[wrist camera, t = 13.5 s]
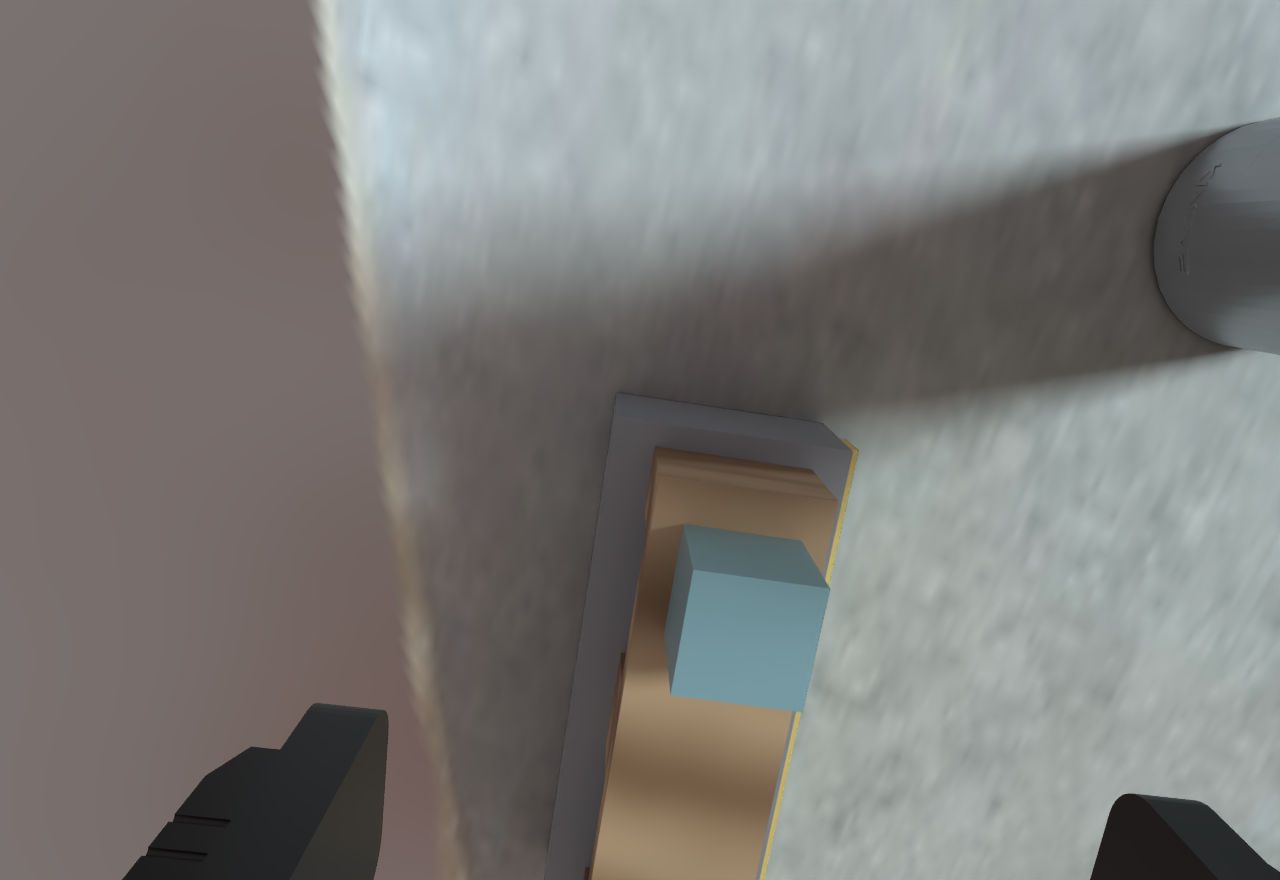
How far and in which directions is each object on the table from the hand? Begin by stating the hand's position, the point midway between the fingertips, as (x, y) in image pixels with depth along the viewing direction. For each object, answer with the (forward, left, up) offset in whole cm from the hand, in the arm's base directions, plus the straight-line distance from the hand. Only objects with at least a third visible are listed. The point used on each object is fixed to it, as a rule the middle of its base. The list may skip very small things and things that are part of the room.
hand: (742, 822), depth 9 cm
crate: (-3, +5, -19) cm, 19 cm away
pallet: (-3, +12, -23) cm, 26 cm away
